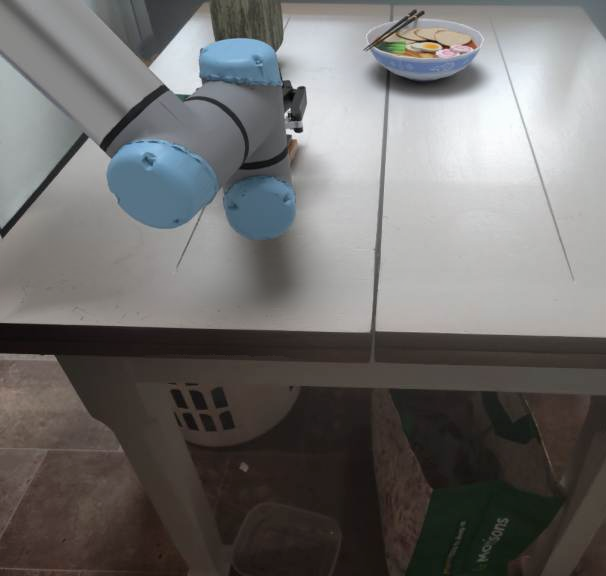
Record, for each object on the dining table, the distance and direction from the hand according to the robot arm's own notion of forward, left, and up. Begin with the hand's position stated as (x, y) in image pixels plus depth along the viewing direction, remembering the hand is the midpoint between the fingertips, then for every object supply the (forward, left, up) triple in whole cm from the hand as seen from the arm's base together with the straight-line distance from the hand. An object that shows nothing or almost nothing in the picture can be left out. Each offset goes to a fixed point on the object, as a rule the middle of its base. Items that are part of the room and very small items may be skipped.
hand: (244, 79), depth 92 cm
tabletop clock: (-8, +30, -11) cm, 33 cm away
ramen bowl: (+25, +33, -11) cm, 43 cm away
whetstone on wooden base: (-1, -4, -11) cm, 12 cm away
